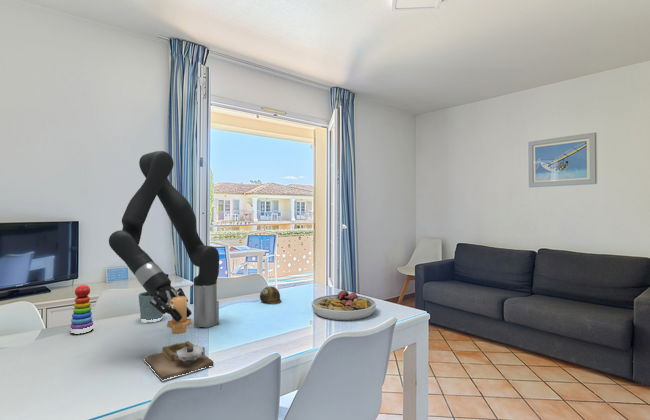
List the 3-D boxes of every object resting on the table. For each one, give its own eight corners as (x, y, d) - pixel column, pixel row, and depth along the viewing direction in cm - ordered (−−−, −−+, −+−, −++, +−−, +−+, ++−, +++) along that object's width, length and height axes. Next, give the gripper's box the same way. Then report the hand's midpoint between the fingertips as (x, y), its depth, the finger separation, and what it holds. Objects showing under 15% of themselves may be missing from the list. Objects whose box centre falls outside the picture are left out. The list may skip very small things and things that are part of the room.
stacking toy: (65, 336, 136) (65, 287, 136) (74, 329, 143) (74, 283, 143) (89, 334, 138) (89, 286, 138) (96, 327, 146) (96, 282, 146)
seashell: (256, 302, 185) (255, 287, 185) (269, 298, 192) (269, 284, 192) (271, 305, 178) (271, 290, 178) (284, 302, 185) (284, 286, 185)
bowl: (379, 322, 151) (379, 304, 151) (309, 322, 152) (309, 304, 152) (371, 304, 181) (371, 288, 181) (313, 304, 182) (313, 288, 182)
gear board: (191, 349, 123) (191, 331, 123) (213, 366, 109) (213, 346, 109) (144, 361, 113) (144, 342, 113) (162, 382, 99) (162, 360, 99)
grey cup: (145, 325, 148) (145, 297, 148) (134, 321, 154) (134, 293, 154) (168, 319, 156) (168, 292, 156) (157, 315, 162) (156, 289, 162)
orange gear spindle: (186, 326, 120) (186, 294, 120) (195, 332, 115) (195, 298, 115) (163, 331, 115) (163, 297, 115) (171, 337, 110) (171, 302, 110)
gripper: (144, 274, 110) (178, 316, 107) (173, 267, 124) (204, 304, 121) (129, 291, 111) (162, 332, 108) (160, 282, 125) (190, 318, 122)
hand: (184, 317), depth 115 cm, fingers closed on orange gear spindle, 4 cm apart
